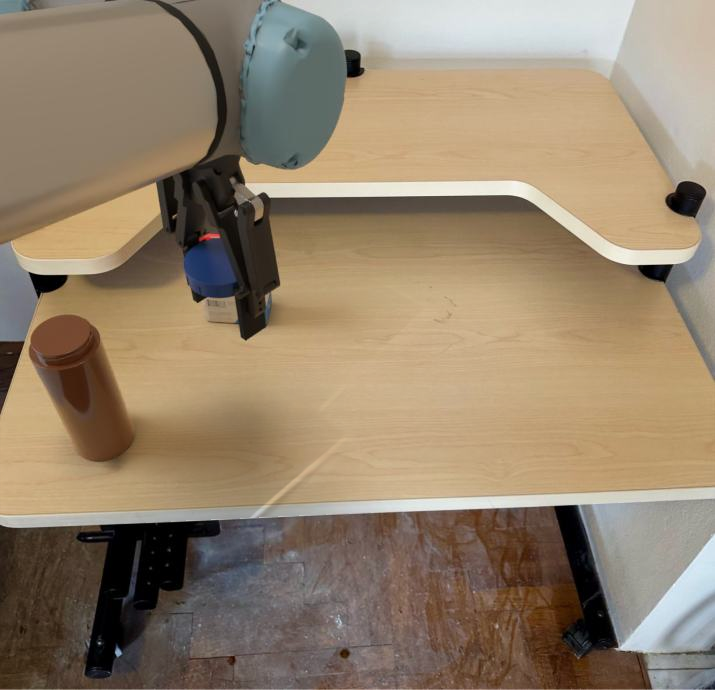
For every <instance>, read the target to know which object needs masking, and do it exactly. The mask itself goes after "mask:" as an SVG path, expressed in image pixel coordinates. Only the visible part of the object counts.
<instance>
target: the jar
mask: <svg viewBox="0 0 715 690" xmlns="http://www.w3.org/2000/svg"><path fill="white" fill-rule="evenodd" d="M29 342H30V344H29V346H28V357H29V359H30V361H31V363H32V365H33V367H34V369H35V371H36V373H37V375H38V377H39V379H40V381H41V383H42V385H43V387H44V389H45V391H46V393H47V395H48V397H49V399H50V402H51V403H52V405H53V407H54V409H55V411H56V414H57V415H58V417H59V419H60V421H61V423H62V425H63V427H64V429H65V431H66V434H67V435H68V437H69V439H70V441H71V443H72V445H73V447H74V449H75V450H76V452H77V454H78V455H79V456H80V458H81V457H82V458H83V459H85V460H88V461H90V462H91V461H92V462H105V461H109V460H112V459H115V458H117V457H119V456H120V455H122V454H124V452H126V451H127V449H129V447H130V446H131V445H132V443H133V441H134V438H135V434H136V433H135V432H136V431H135V430H136V428H135V426H134V423H133V421H132V417H131V415H130V411H129V410H128V407H127V404H126V401H125V398H124V396H123V393H122V391H121V387H120V385H119V383H118V379H117V377H116V374H115V372H114V368H113V367H112V364H111V360H110V358H109V355H108V353H107V350H106V347H105V344H104V342H103V339H102V336H101V334H100V332H99V330H98V328H97V327H96V326H94V325H93V324H92V323H90V321H89V320H88V319H86V318H85V317H84V318H83V316H80V315H77V314H69V313H67V314H59V315H55V316H53V317H49V318H47V319H45V320H44V321H42V322H41V323H39V324H38V325H37V326H36V327H35V328H34V330H32V333H31V334H30V339H29Z"/></svg>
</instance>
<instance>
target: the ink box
mask: <svg viewBox="0 0 715 690" xmlns="http://www.w3.org/2000/svg"><path fill="white" fill-rule="evenodd" d="M214 238H220V236H219V233H218V234H217V233H209V234H207V235H205V236H203V237H202V238H200V239H199V241H202V240H204V239H206V240H209V239H214ZM272 297H273V296H272V291H271V292H270V293H268V294H267V295H265V301H266V310H265V320H266V326H267V325H268V321H269V316H270V312H271V308H272V303H273V299H272ZM202 304H203V309H204V314H205V317H206V321H207V322H211V323H227V324H228V323H229V324H239V322H238V316H237V309H236V303H235V296H233V297H228V298H210V297H207V298H205V299H204V300H202Z"/></svg>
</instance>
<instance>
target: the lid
mask: <svg viewBox="0 0 715 690" xmlns="http://www.w3.org/2000/svg"><path fill="white" fill-rule="evenodd" d="M183 270H184V274H185V280H186V284H187V286H188V287H189V288H190V290H191V289H192V290H193V291H195V292H196V293H198V294H199V295H202V296H205V297H210V298H228V297H233V296H234V293H233V292H234V290H233V289H234V288H235V287H237V286H238V283H237V280H236V278H235V275H234V273H233V270H232V267H231V265H230V262H229V259H228V257H227V254H226V251H225V249H224V246H223V243H222V241H221V238H214V239H209V240H206V241H203V242H201V243H199V244H197V245H196V246H194V247H193V248H192V249H191V250H190V251H189V252H188V253H187V254H186V256H185V258H184V257H183Z"/></svg>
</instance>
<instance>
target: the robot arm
mask: <svg viewBox="0 0 715 690" xmlns="http://www.w3.org/2000/svg"><path fill="white" fill-rule="evenodd" d="M345 53H346V51H345V48H344V45H343V42H342V40H341V38H340V36H339V34H338V31H337V30H336V29H335V28H334V26H333V25H332V24H331V23H330V22H329V21H327V20H326V19H325V18H324V17H322V16H320V15H318V14H315V13H312V12H310V11H307V10H304V9H302V8H300V7H296V6H294V5H291V4H289V3H286V2H283V1H282V0H0V246H3V245H4V244H9V243H10V242H12V241H15V240H17V239H20V238H22V237H25V236H27V235H30V234H33V233H35V232H37V231H39V230H43V229H45V228H47V227H50V226H53V225H54V224H57V223H59V222H61V221H64V220H67V219H69V218H72V217H74V216H77V215H79V214H82V213H83V212H87V211H89V210H91V209H94V208H96V207H100V206H101V205H103V204H106V203H109V202H111V201H113V200H116V199H118V198H121V197H123V196H125V195H129V194H131V193H133V192H136V191H138V190H140V189H143V188H145V187H147V186H148V187H149V186H150V185H153V184H155V185H156V192H157V198H158V204H159V209H160V216H161V223H162V228H163V230H164V232H165V233H166V234H167V235H168V236H169V235H172V234H173V235H174V236H175V237H174V239H175V242H176V244H177V246H178V247H179V248H181V250H182V255H183V259H184V258H185V256H186V254H187V253H188V252H189V251H190V250H191V249H192V248H193V247H194V246H196V245H197V244H199V243H201V242H203V241H206V239H204V240H202V241H199V239H200V238H202V237H203V236H205V235H207V234H210V231H208V230H207V228H206V227H205V224H206V219H207V221H208V224H209V225H210V226H211V227H213V228H215V229H216V230H217V233H218V234H219V236H220V238H221V241H222V243H223V246H224V249H225V251H226V254H227V257H228V259H229V262H230V265H231V267H232V270H233V273H234V275H235V278H236V280H237V283H238V286H237V287H235V288H234V289H233V290H234V292H233V293H234V296H235V303H236V309H237V316H238V322H239V323H238V329H239V335H240V338H241V339H242V340H244V341H245V342H247V341H248V340H249V339H251V338H252V337H255V335H257V334H258V333H260V332H262V331H263V330H264V329H266V328H267V325H266V320H265V310H266V301H265V295H267V294H268V293H270V292H271V293H272V292H273V291H274V290H276V289H278V288H280V287H281V279H280V273H279V267H278V263H277V256H276V250H275V244H274V238H273V232H272V227H271V221H270V220H271V219H270V215H271V214H270V213H271V205H272V202H271V198H270V196H269V194H268V193H266V192H264V191H261V192H260V193H259V194H257V195H256V194H255V193H253V192H252V190H250V189H249V188H248V187H247V186H246V179H245V177H244V176H245V175H244V174H243V171H242V168H241V165H240V161H241V159H242V158H245V160H246V161H247V162H248V163H249V164H252V165H255V166H258V165H259V166H260V165H265V166H268V167H271V168H275V169H280V170H285V171H288V170H289V171H296V170H299V169H300V168H301V169H302V168H304V167H305V166H307V165H309V164H311V163H312V162H313V161H314V160H315V159H316V158H317V157H318V156H319V155H320V154H321V153H322V151H323V150H324V149H325V148H326V146H327V144H328V143H329V141H330V140H331V138H332V136H333V134H334V132H335V130H336V128H337V125H338V123H339V120H340V117H341V113H342V111H343V107H344V103H345V93H346V84H347V79H348V69H347V67H348V66H347V59H346V57H347V56H346V54H345ZM174 216H175V217H174ZM190 291H191V296H192V300H193V301H194V302H195V303H196V304H200V303H202V302H203V300H204V299H205V298H207V297H205V296H202V295H199V294H198V293H196V292H195V291H193V290H192V289H191V288H190Z"/></svg>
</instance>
